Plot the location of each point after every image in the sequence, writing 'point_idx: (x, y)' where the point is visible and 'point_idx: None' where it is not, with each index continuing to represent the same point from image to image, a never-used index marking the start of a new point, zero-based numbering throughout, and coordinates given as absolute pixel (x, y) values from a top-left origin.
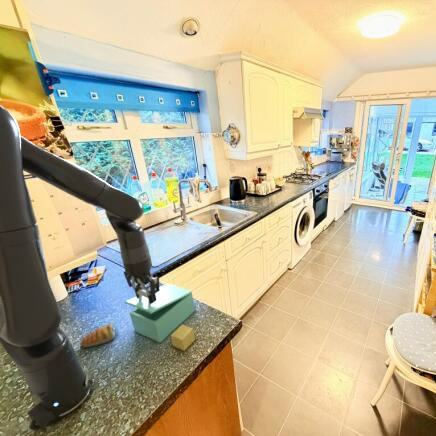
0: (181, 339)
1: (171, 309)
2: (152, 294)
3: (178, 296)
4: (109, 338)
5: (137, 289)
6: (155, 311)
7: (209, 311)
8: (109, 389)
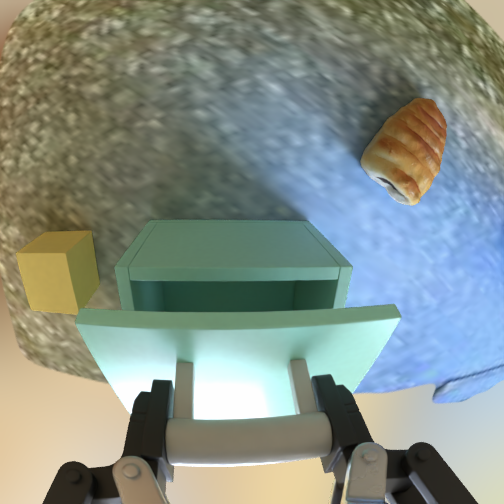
0: (18, 254)
1: None
2: (71, 469)
3: None
4: (368, 150)
5: (338, 454)
6: None
7: None
8: (157, 14)
